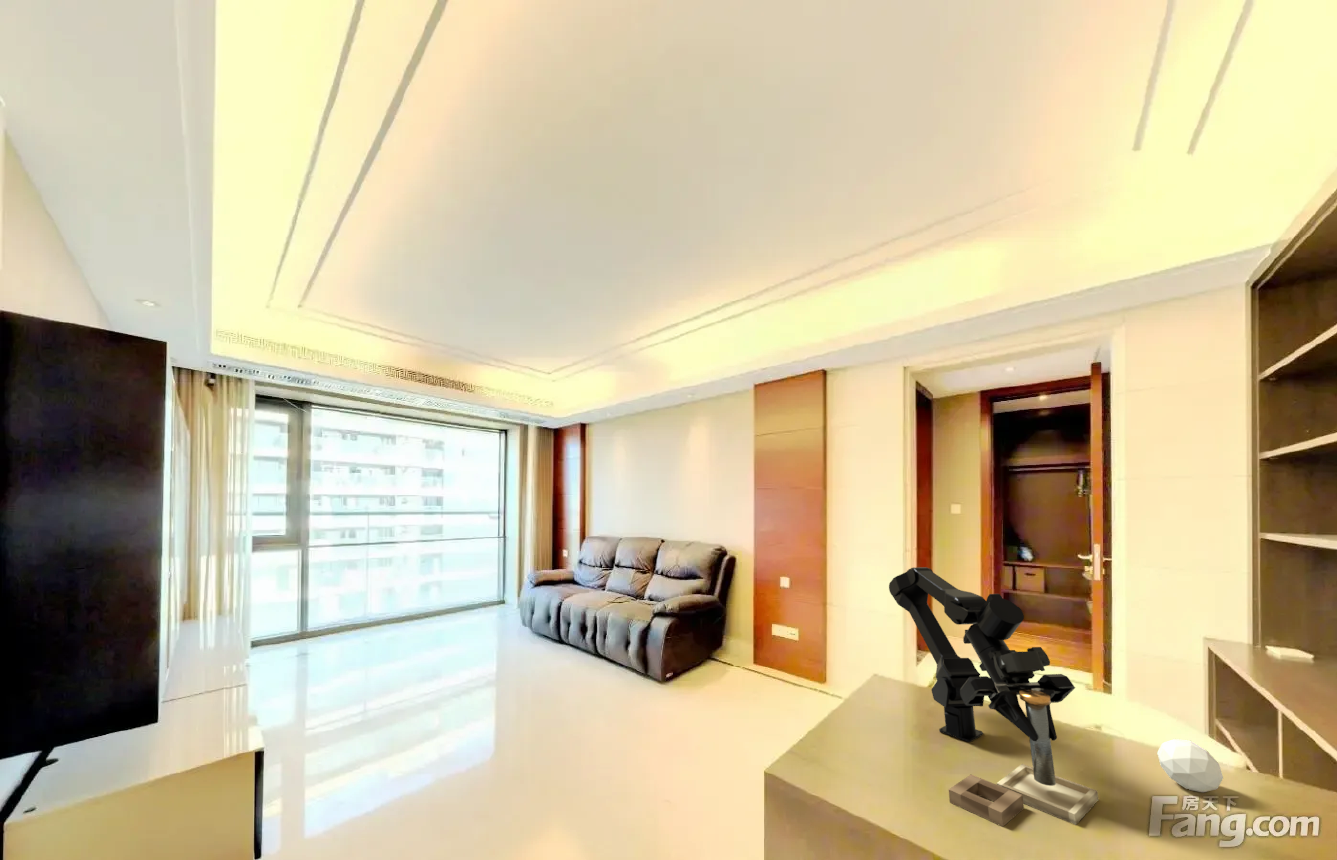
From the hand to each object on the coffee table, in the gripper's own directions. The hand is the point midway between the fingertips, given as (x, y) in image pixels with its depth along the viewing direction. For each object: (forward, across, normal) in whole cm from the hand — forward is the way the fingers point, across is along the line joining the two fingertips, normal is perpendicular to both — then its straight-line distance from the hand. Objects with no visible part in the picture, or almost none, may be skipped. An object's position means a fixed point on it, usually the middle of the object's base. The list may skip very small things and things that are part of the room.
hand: (1045, 740), depth 84 cm
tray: (+6, 0, +8) cm, 9 cm away
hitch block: (+7, -12, +6) cm, 15 cm away
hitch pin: (+4, 0, +6) cm, 7 cm away
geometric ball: (+6, +27, +8) cm, 29 cm away
